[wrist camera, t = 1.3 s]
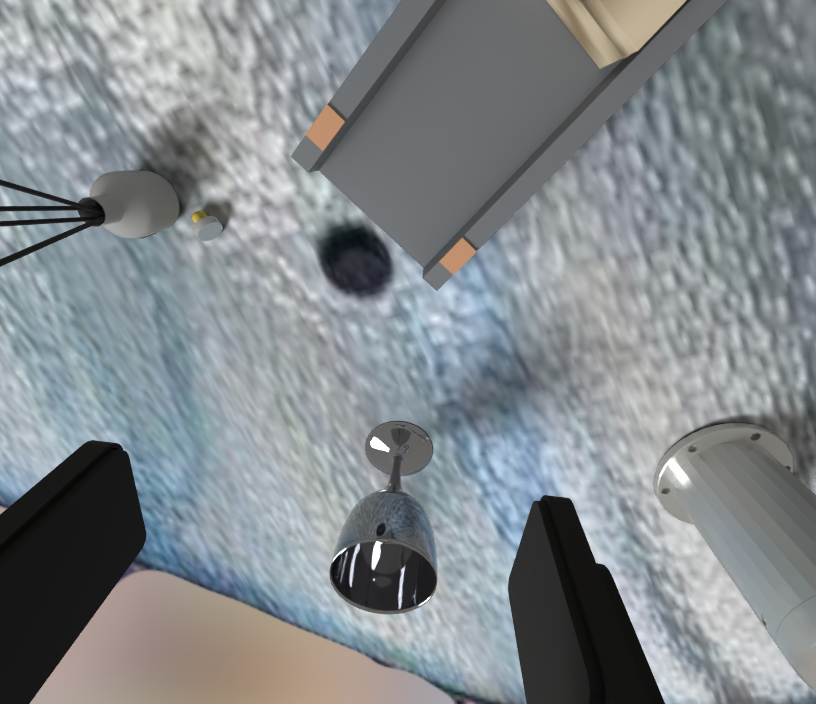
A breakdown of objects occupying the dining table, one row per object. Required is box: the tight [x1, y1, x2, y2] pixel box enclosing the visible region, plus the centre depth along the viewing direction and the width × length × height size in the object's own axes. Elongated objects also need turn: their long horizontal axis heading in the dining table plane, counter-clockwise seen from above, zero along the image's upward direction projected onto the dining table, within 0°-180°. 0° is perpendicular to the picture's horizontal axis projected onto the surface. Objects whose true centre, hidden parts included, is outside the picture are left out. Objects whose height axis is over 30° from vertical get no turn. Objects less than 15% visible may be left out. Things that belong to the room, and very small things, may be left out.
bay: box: [291, 0, 727, 291], centre depth 28 cm, size 14×30×4 cm, turn 138°
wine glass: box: [330, 421, 437, 614], centre depth 38 cm, size 8×8×15 cm
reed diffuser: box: [0, 171, 223, 267], centre depth 26 cm, size 10×7×20 cm
